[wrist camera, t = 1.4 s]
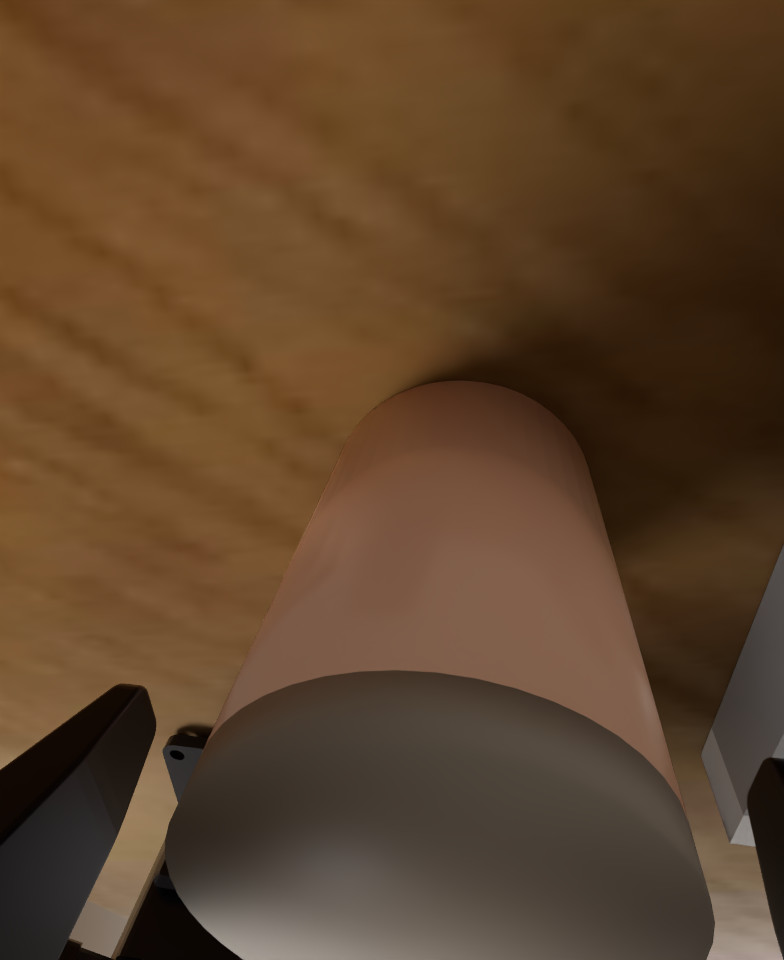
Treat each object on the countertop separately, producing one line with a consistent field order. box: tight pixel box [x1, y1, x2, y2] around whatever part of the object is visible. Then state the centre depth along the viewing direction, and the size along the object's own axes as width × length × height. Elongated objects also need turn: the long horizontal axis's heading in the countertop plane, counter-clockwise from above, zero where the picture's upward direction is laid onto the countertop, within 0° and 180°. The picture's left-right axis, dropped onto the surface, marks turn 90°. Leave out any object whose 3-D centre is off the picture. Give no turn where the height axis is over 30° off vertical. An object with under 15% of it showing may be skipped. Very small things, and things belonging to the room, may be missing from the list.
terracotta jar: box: [165, 380, 715, 960], centre depth 11 cm, size 6×6×9 cm
